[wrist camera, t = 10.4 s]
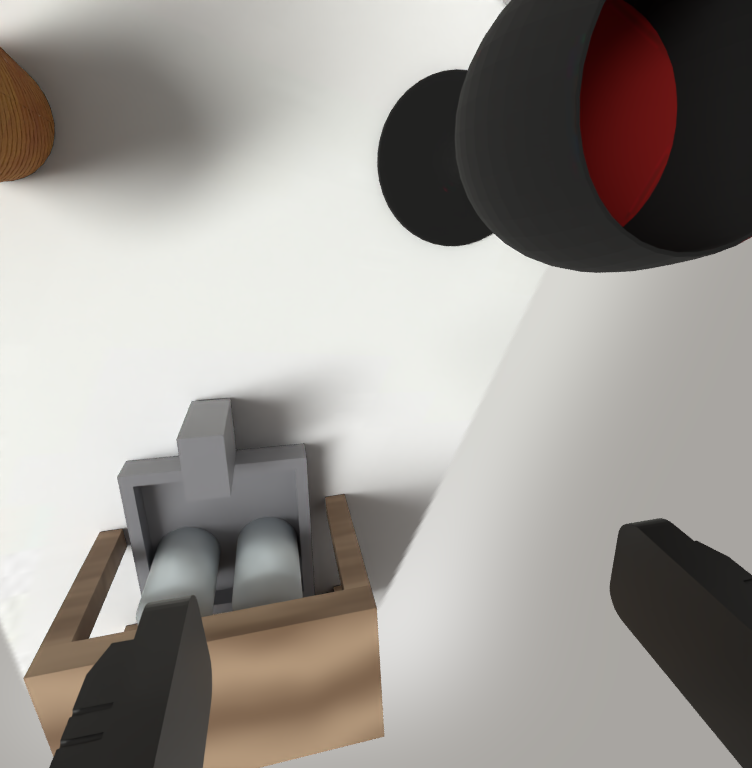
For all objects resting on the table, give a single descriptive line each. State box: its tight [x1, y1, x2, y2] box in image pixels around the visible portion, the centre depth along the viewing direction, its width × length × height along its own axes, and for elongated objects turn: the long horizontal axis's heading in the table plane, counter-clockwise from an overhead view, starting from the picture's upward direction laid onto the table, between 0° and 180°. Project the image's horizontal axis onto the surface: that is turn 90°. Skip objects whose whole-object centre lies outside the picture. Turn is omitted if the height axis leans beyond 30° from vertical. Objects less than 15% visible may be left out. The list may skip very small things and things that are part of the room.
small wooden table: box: [24, 494, 384, 768], centre depth 32 cm, size 10×17×12 cm, turn 93°
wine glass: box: [378, 0, 752, 273], centre depth 22 cm, size 10×10×20 cm
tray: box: [117, 398, 315, 624], centre depth 33 cm, size 16×12×7 cm
